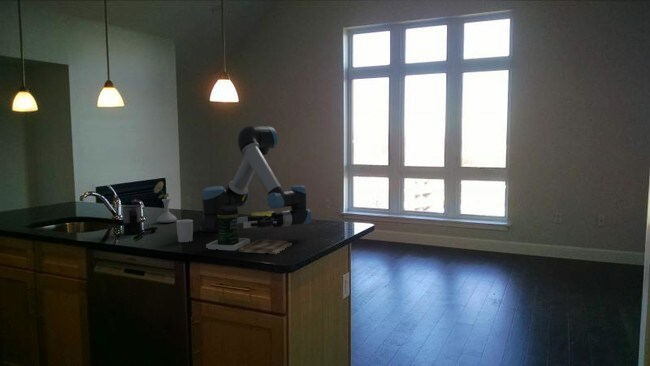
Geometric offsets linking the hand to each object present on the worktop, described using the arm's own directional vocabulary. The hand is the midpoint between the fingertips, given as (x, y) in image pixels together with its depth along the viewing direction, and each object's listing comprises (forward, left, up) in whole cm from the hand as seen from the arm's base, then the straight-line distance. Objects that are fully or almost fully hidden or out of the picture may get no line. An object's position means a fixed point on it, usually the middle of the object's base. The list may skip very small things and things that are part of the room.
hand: (238, 223), depth 222 cm
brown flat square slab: (+15, -3, -10) cm, 19 cm away
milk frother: (-65, +12, -11) cm, 67 cm away
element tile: (-16, +65, -11) cm, 68 cm away
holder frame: (-4, -3, -10) cm, 12 cm away
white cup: (-30, +1, -11) cm, 32 cm away
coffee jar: (-4, -3, -11) cm, 12 cm away
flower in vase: (-71, +42, -11) cm, 83 cm away
